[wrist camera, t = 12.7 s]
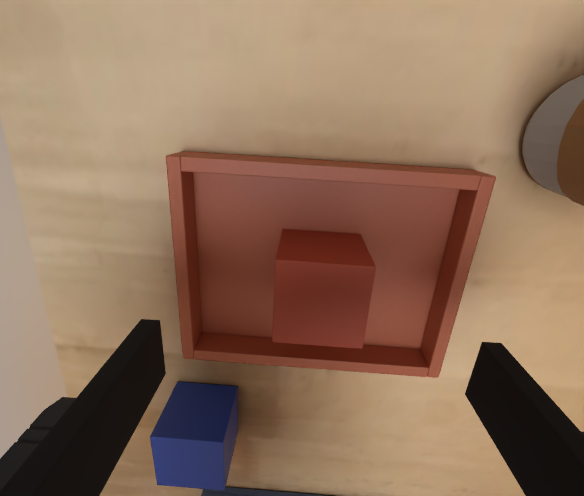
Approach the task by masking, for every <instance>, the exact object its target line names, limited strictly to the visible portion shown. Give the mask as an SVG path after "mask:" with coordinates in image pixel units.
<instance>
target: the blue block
mask: <svg viewBox="0 0 584 496" xmlns="http://www.w3.org/2000/svg"><path fill="white" fill-rule="evenodd" d="M237 433H238V386H228V385H215V384H202V383H189V382H177V384H176V386H175V388H174V390H173V392H172V394H171V396H170V398H169V400H168V402H167V404H166V406H165V408H164V410H163V412H162V414H161V416H160V418H159V420H158V422H157V424H156V426H155V428H154V430H153V432H152V434H151V436H150V439H151V446H152V453H153V459H154V466H155V473H156V480H157V485H164V486H176V487H188V488H200V489H212V490H225V487H226V482H227V478H228V473H229V469H230V464H231V460H232V455H233V451H234V446H235V442H236V437H237Z"/></svg>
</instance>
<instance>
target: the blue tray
mask: <svg viewBox="0 0 584 496" xmlns="http://www.w3.org/2000/svg"><path fill="white" fill-rule="evenodd" d="M201 496H328V495H316V494H304V493H292V492H280V491H268V490H256V489H244V488H232V487H225V490H212V489H203V492H202V495H201Z"/></svg>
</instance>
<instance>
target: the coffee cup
mask: <svg viewBox="0 0 584 496" xmlns="http://www.w3.org/2000/svg"><path fill="white" fill-rule="evenodd" d="M522 154H523V158H524V162H525V165H526V167H527V170H528V172H529V173H530V175H531V176H532V178H533V179H534V180H535V181H536V182H537V183H539V184H540V185H541V186H543V187H544V188H546V189H548V190H551V191H553V192H556V193H558V194H561V195H563V196H566V197H568V198H570V199H571V200H572V201H574V202H576V203H579V204H581V205H584V75H581V76H579V77H577V78H575V79H573V80H571V81H569V82H567V83H565V84H564V85H562V86H561V87H560V88H558V89H557V90H556V91H555V92H553V93H552V94H551V95H550V96H549V97H548V98H547V99H546V100H545V101H544V102H543V103H542V104H541V105H540V106H539V108H538V109H537V110H536V111H535V112H534V114H533V116H532V118H531V119H530V121H529V123H528V125H527V127H526V130H525V134H524V137H523V146H522Z"/></svg>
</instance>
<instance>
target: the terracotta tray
mask: <svg viewBox="0 0 584 496" xmlns="http://www.w3.org/2000/svg"><path fill="white" fill-rule="evenodd" d="M166 163H167V175H168V187H169V199H170V211H171V222H172V234H173V246H174V258H175V270H176V282H177V294H178V305H179V317H180V329H181V341H182V353H183V358H185V359H196V360H210V361H223V362H236V363H249V364H262V365H276V366H289V367H302V368H315V369H328V370H342V371H355V372H368V373H381V374H394V375H408V376H421V377H427V376H428V377H437V378H438V377H439V374H440V370H441V367H442V363H443V360H444V356H445V353H446V349H447V346H448V342H449V339H450V335H451V332H452V328H453V325H454V322H455V318H456V315H457V311H458V308H459V304H460V301H461V297H462V294H463V290H464V287H465V283H466V280H467V276H468V273H469V269H470V266H471V262H472V259H473V255H474V252H475V249H476V245H477V242H478V238H479V235H480V231H481V228H482V224H483V221H484V217H485V214H486V210H487V207H488V203H489V200H490V196H491V193H492V189H493V186H494V182H495V179H496V177H495V176H492V175H489V174H485V173H482V172H479V171H476V170H470V169H455V168H439V167H423V166H408V165H392V164H376V163H360V162H345V161H329V160H313V159H298V158H282V157H266V156H250V155H235V154H219V153H203V152H188V151H182V152H179V153H175V154H171V155H167V156H166ZM282 229H296V230H310V231H325V232H340V233H354V234H361V236H362V238H363V240H364V242H365V245H366V247H367V249H368V251H369V253H370V255H371V257H372V259H373V261H374V264H375V266H376V271H375V277H374V283H373V289H372V295H371V301H370V306H369V312H368V318H367V324H366V330H365V336H364V342H363V348H362V349H358V348H344V347H331V346H318V345H304V344H291V343H277V342H272V327H273V303H274V279H275V259H276V255H277V250H278V246H279V242H280V237H281V233H282Z"/></svg>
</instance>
